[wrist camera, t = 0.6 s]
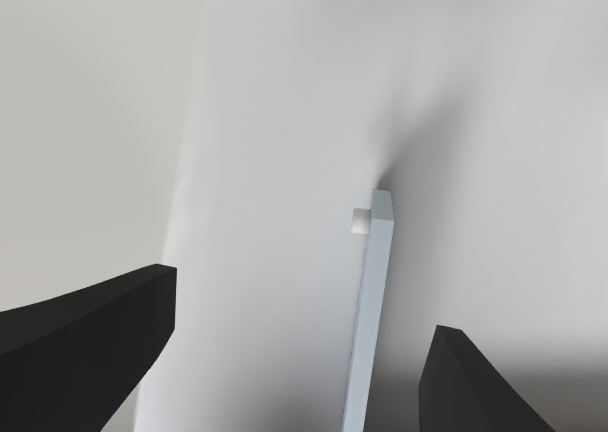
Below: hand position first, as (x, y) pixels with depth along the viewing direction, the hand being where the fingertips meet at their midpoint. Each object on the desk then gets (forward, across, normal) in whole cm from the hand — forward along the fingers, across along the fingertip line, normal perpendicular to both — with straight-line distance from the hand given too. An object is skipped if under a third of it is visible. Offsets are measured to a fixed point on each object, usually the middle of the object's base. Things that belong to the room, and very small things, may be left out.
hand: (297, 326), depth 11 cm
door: (+9, -2, +6) cm, 11 cm away
